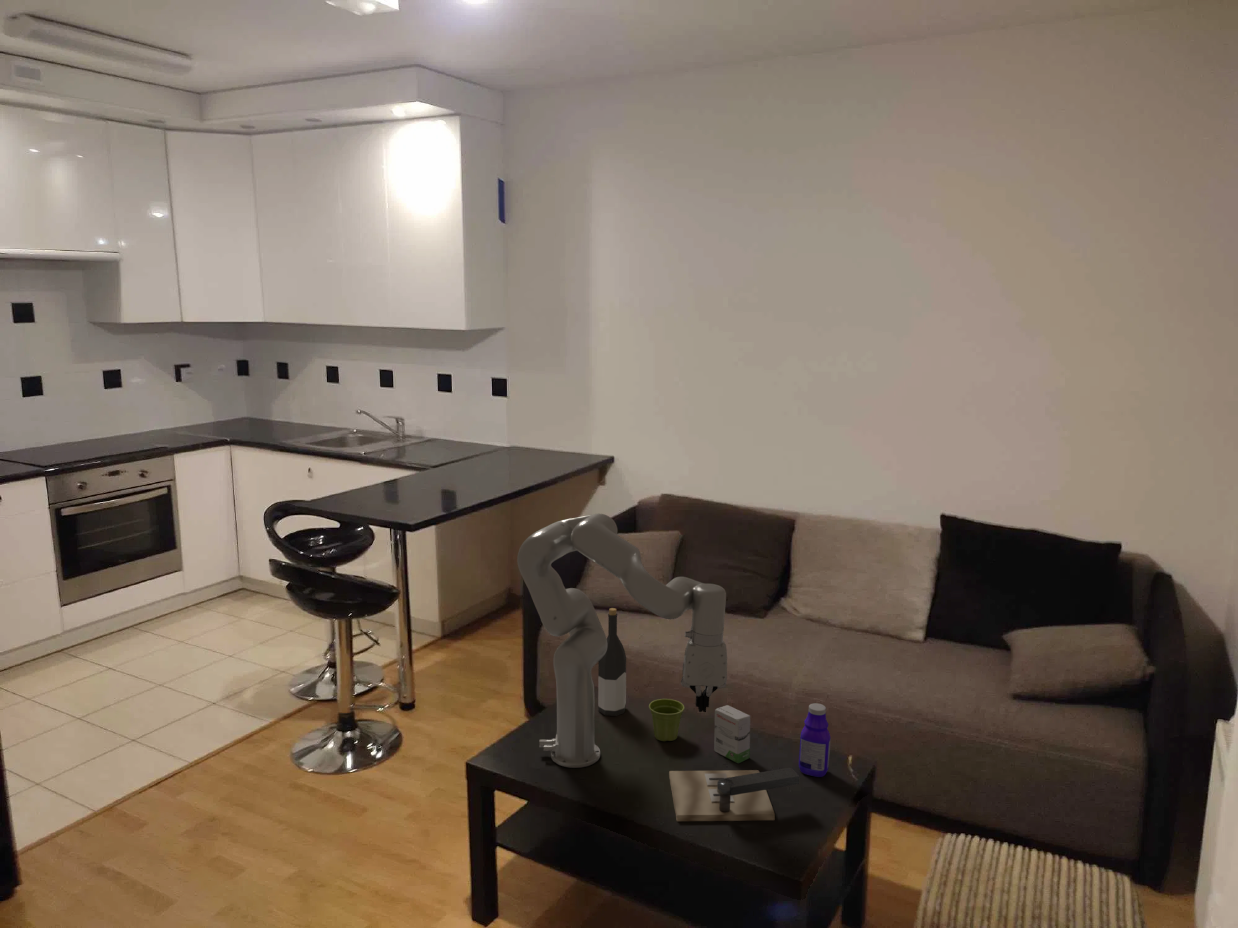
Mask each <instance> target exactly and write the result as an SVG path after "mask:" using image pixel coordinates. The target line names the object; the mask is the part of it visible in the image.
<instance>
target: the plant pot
mask: <svg viewBox="0 0 1238 928" xmlns="http://www.w3.org/2000/svg"><path fill="white" fill-rule="evenodd" d="M648 709H649V711H650V713H651V717H652V719H651V720H652V725H653V727H652V728H653V734H654V738H655V739H656V740H658V741H661V742H667V741H669V742H672V741H675V740H676V739H677V738H678V735H679V734H678V733H679V728H680V723H681V720H682V719H681V717H682V715H683V713H684V711H685V705H684V704H683V703H682V702H681V701H679V700H675V699H672V698H660V699H659V698H658V699H654V700H652V701H651V702H650V703H649V704H648Z"/></svg>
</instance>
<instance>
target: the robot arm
mask: <svg viewBox="0 0 1238 928" xmlns="http://www.w3.org/2000/svg"><path fill="white" fill-rule="evenodd" d="M572 552H579V553H580V554H582V555H583V556H584V557H586V558H587V559H589V560H590V561H592V562H594V563H595V564H597V565H598V566H600V567H601V568H602V569H605V570H606V571H607V572H609V573H610V574H611V575H613V576H615V577H617V579H619V580H620V582H621V584H622V586H623V587H624V589H625V590H626V591H627V593H628V594H629V595H630V596H631V597H632V598H633V600H634V601H636V603H638V604H639V605H640V606H642V607H643V608H645V609H646V610H649V612H651V613H652V614H655V615H656V616H658V617H660V618H662V619H666V620H675V619H678V618H680V617H681V616H682V615H684V613H685V612H686V611H688V610H691V611H692V612H691V614H692V615H691V625H690V626H691V627H690V629H689V630H688V631H686V630H685V631H684V637H685V638H688V640H687V642H686V646H685V650H684V655H683V663H682V678H681V681H680V684H681V687H683V688H688V689H691V691H692V692H694V694H695V708H697V709H698V712H699V713H702V712H703V713H707V708H709V707H710V697H712V694H713V693H714V692H715V691H717V690H719V689H724V688H726V687H727V680H728V652H727V651H728V649H727V643H726V642H725V641H724V627H725V615H726V603H727V601H726V600H727V591H726V590H725V588H723V586H721V585H718V584H714V583H704V582H701V581H698V580H695V579H693V578H689V577H686V576H677V577H676V576H675V577H674V578H673V579H671V580H670V581H669V582H668V583H667V584H664V583H663V582H661V581H660V580H658V579H657V578H655V577H654V576H653V575H651V574H650V573H649V572H648V571H647V569H646V568H645V567H644V564H643V561H642V557H641V551H640V549H639V547H637V546H635V545H634V544H632V543H630V542H629V541H628V540H626V539H624V538H622V537H621V536H619V535H618V526H617V523H616V522H615V520H614V519H613V518H612V517H610V515H607V514H606V513H605V514H604V513H593V514H589V515H584V516H578V517H573V518H572V517H571V518H566V519H562V520H558V521H555V522H553V523H551V524H548V525H547V526H545V527H542V528H541V529H539V530H537V531H535V532H533V533H532V534H531V535H529V536H528V537H527V538H526V539H525V540H524V541H523V542H522V544H521V545H520V546H519V549H518V553H517V558H516V559H517V562H516V563H517V568H518V570H519V573H520V576H521V577H522V580H523V581H524V583H525V585H526V587H527V589H528V592H529V595H530V596H531V599H532V601H533V604H534V606H535V609H536V611H537V613H538V616H539V618H540V621H541V623H542V625H543V627H544V629H545V630H546V632H547V633H548V634H549V635H551V636H553V637H562V636H565V635H567V634H569V636H568V637H567V638H566V639H565V640H563V641H562V642H561V643H560V645H558V647H557V648H556V649H555V652H554V654H553V661H552V662H553V671H554V677H555V682H556V687H555V688H556V734H555V738H551V739H547V738H546V739H539V741H538V742H539V744H538V745H539V748H543V751H544V752H549V751H550V759H551V760H552V761H553V762H554V763H555V764H557V765H559V766H562V767H563V768H564V767H565V768H571V769H572V768H573V769H575V768H576V769H578V768H585V767H589V766H591V765H594V764H595V763H596V762H598V761H599V760H600V759H601V750H600V748H599V746H598V745H596V743H595V701H596V700H595V684H594V680H593V675H592V670H593V668H594V667H595V666H596V665H597V663H598V661H599V660H601V659H602V658H603V656H604V655H605V653H606V651H607V635H606V633H605V630H604V629H603V625H602V624H601V620H600V618H599V616H598V615H597V612H596V611H597V610H596V609H595V607H594V605H593V603H592V600H591V599H590V597H589V596H588V595H587V594H586V593H585V592H584V591H583V590H581V589H579V588H573V587H570V588H566V587H565V586H564V583H563V580H562V578H561V576H560V574H559V573H558V572H557V570H555V568H553V567H552V563H554V562H555V561H557V560H559V559H561V558H562V557H563V556H565V555H567V554H569V553H572ZM701 687H704V689H703V690H702V688H701Z"/></svg>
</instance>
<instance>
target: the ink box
mask: <svg viewBox="0 0 1238 928" xmlns="http://www.w3.org/2000/svg"><path fill="white" fill-rule="evenodd" d="M713 743H714V745H713V746H714V749H713V751H714V752H715V753H717V754H718V755H721V756H723V757H725V758H726V759H729V760H731V761H732V762H734V763H736V764H740V763H742V762H744V761H746V760H748V759H750V757H751V756H750V755H751V751H750V750H751V748H750V747H751V715H750V714H747V713H746V712H744V711H741V710H739V709H736V708H735V707H733V706H731V705H728V704H726V705H723V706H720V707H717V708H716V709H714V742H713Z"/></svg>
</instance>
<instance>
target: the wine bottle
mask: <svg viewBox="0 0 1238 928" xmlns="http://www.w3.org/2000/svg"><path fill="white" fill-rule="evenodd" d="M607 616H608V619H607V621H608V628H607V629H608V633H607V636H606V639H607V651H606V653H605V655H604V656H603V658H602V659H601V660H599V661H598V662H597V663H598V666H597V668H598V670H597V671H598V673H597V674H598V675H597V676H598V681H597V683H598V684H597V685H598V688H597V689H598V698H597V701H598V702H597V704H598V705H597V706H598V707H597V709H598V712H599V713H601V714H602V715H604V716H608V717H609V716H610V717H611V716H612V717H617V716H619V715H624V714H625V711H626V707H627V706H626V705H627V703H626V702H627V654H626V651H625V648H624V645H623V643H622V641H621V639H620V637H619V636H618V613H617V608H614V607H611V608H609V610H608V614H607Z"/></svg>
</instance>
